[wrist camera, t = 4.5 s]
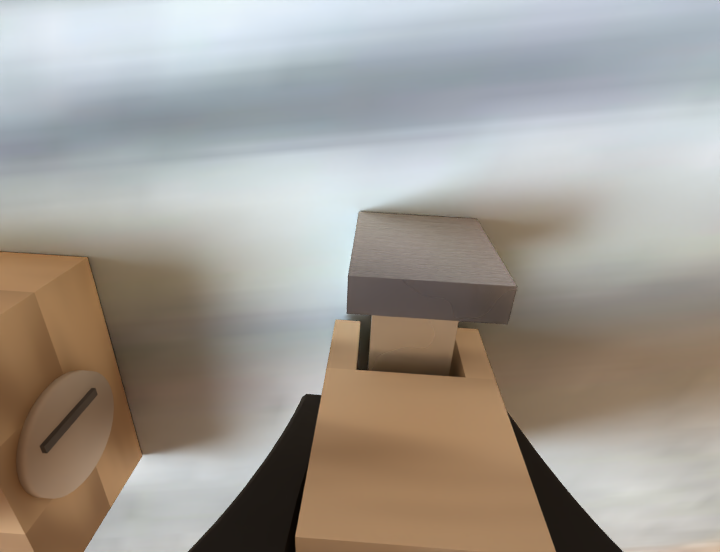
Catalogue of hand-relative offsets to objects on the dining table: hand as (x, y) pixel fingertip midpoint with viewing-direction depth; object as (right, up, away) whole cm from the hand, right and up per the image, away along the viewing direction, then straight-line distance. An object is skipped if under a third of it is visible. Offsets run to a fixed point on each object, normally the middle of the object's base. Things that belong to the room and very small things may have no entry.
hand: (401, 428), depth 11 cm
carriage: (0, +1, +2) cm, 2 cm away
